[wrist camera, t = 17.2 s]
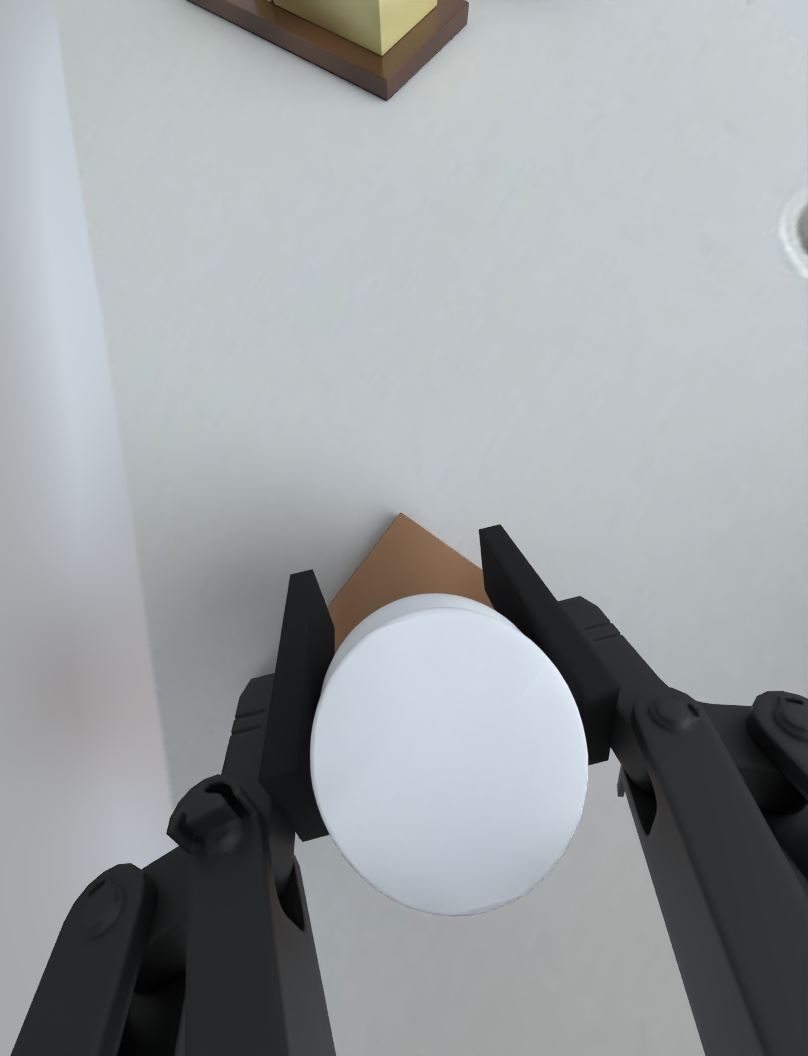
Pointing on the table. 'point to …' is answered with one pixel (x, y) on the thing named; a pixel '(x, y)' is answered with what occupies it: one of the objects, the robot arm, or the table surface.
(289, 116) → the table surface
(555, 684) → the pill bottle
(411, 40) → the butter board
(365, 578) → the cork coaster
